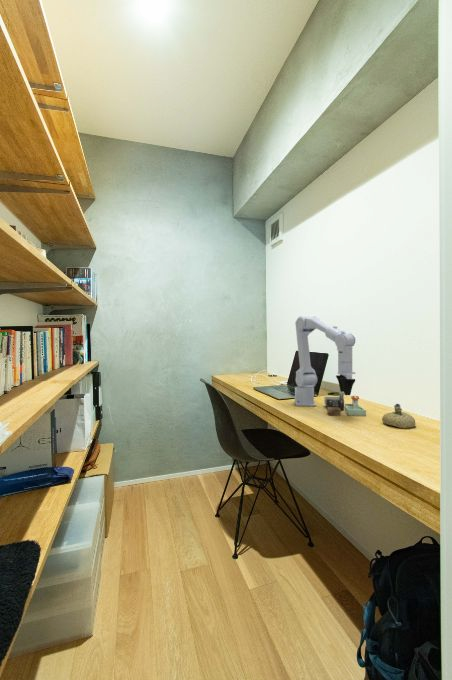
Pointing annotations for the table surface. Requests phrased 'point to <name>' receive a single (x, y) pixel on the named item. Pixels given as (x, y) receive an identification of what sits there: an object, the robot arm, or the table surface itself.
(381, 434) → the table surface
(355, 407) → the pin
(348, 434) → the table surface
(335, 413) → the brown rectangular block
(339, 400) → the cart
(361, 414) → the tray
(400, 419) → the acorn cap
